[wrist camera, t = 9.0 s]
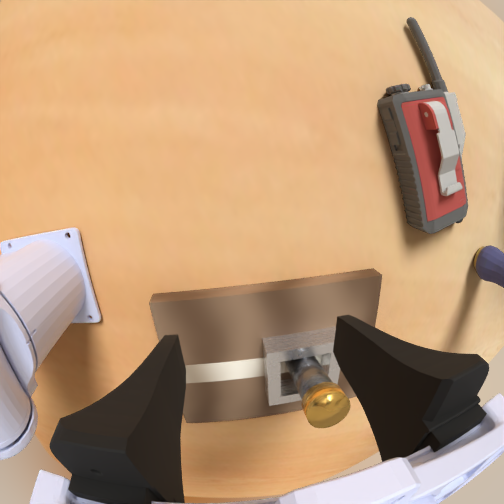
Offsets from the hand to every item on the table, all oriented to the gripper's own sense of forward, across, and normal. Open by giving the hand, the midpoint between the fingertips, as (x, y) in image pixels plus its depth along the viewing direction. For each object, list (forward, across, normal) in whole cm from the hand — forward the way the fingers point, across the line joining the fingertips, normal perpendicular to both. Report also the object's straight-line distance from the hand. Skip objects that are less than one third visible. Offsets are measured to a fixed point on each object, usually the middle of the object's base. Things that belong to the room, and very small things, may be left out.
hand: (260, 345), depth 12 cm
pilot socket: (+8, -4, +8) cm, 12 cm away
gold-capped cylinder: (+8, -4, +8) cm, 12 cm away
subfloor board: (+9, -2, +8) cm, 13 cm away
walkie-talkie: (+10, -16, -12) cm, 22 cm away
